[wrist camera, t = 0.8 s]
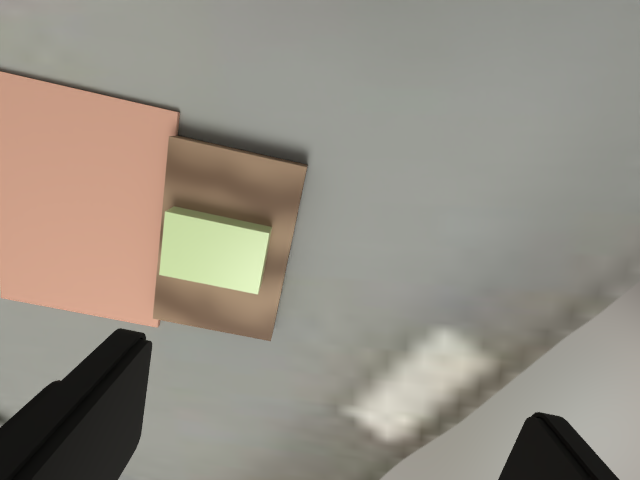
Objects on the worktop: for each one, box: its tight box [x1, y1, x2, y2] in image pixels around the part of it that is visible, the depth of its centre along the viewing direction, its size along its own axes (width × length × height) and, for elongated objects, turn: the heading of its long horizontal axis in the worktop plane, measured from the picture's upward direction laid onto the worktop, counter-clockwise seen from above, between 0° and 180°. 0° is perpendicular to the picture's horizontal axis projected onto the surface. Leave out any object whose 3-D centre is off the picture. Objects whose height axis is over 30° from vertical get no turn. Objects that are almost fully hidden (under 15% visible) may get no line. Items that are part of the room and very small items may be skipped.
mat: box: [0, 71, 180, 328], centre depth 34 cm, size 22×16×1 cm
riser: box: [153, 135, 308, 341], centre depth 35 cm, size 18×12×2 cm, turn 167°
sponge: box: [159, 206, 272, 294], centre depth 33 cm, size 6×9×2 cm, turn 77°
